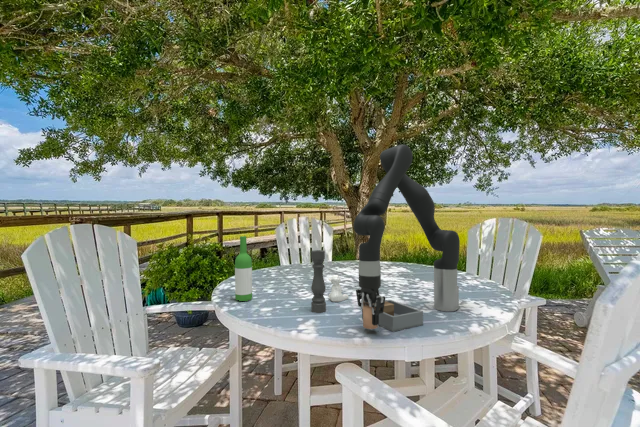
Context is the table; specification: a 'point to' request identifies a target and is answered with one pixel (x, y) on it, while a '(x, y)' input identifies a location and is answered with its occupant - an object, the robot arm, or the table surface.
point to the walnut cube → (388, 308)
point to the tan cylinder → (368, 317)
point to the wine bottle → (243, 273)
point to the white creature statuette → (336, 290)
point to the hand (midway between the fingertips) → (370, 322)
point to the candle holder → (318, 282)
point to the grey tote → (401, 317)
